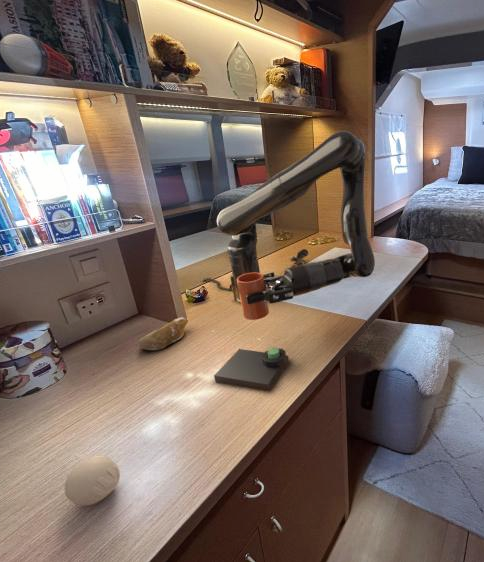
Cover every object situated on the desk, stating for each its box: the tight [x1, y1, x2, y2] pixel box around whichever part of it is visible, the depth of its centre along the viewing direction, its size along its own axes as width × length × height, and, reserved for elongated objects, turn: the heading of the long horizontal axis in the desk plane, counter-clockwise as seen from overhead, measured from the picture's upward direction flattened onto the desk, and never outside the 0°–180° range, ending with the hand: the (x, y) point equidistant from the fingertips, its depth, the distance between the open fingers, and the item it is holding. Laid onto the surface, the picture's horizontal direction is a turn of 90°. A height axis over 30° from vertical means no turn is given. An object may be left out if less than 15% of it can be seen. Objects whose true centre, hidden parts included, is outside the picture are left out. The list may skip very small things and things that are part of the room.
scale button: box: [267, 347, 280, 359], centre depth 83 cm, size 3×3×2 cm
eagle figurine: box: [289, 248, 309, 266], centre depth 150 cm, size 8×7×9 cm
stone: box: [135, 316, 189, 351], centre depth 96 cm, size 7×6×15 cm
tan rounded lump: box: [64, 455, 121, 507], centre depth 54 cm, size 7×7×7 cm
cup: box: [237, 272, 270, 321], centre depth 83 cm, size 6×6×10 cm
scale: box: [213, 347, 290, 392], centre depth 82 cm, size 14×11×4 cm
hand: (243, 294), depth 82 cm, fingers closed on cup, 6 cm apart
